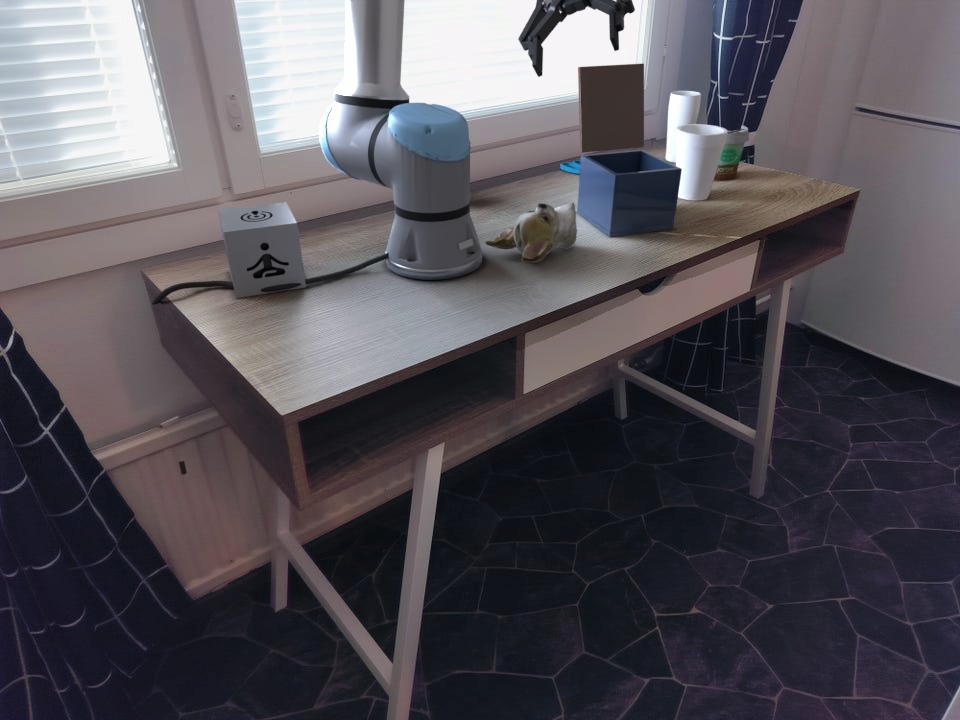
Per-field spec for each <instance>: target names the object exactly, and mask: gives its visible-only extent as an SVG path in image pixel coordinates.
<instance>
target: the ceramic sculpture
mask: <svg viewBox="0 0 960 720" xmlns="http://www.w3.org/2000/svg"><path fill="white" fill-rule="evenodd" d="M577 232H578V229H577V210H576V205H575V203H574V201H572V202H569V203H567V204H563V205H560V206H557V207H555V208H554V207H553V206H552V205H549V204H547V203H541V202H540V203H538V204H537V206H536V208H534V210H529V211H526V212H525V213H521V214H520V215H519V216H518V217H517V218H516V220H515V223H514V225H513V227H509V228H508V229H507V230H505V231H503V232H502V233H500V234H499V235H498V236H497V237H495V238H494V239H493V240H487V241H485V242H484V244H485V245H486V246H489V247H492V248H496V249H500V250H510V249H511V250H512V249H514V248H517V250H518V251H520V252H521V253H522V254H521V259H520V262H522V263H529V264H533V263H539V262H541V261H542V260H544V259H545V257H547V255H548V254H549V253H551V252H552V251H554V250H556V249H558V248H559V249H560V248H561V249H566V250H567V249H570V248H572V247H573V246H574V244H575V243H576V240H577Z"/></svg>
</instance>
